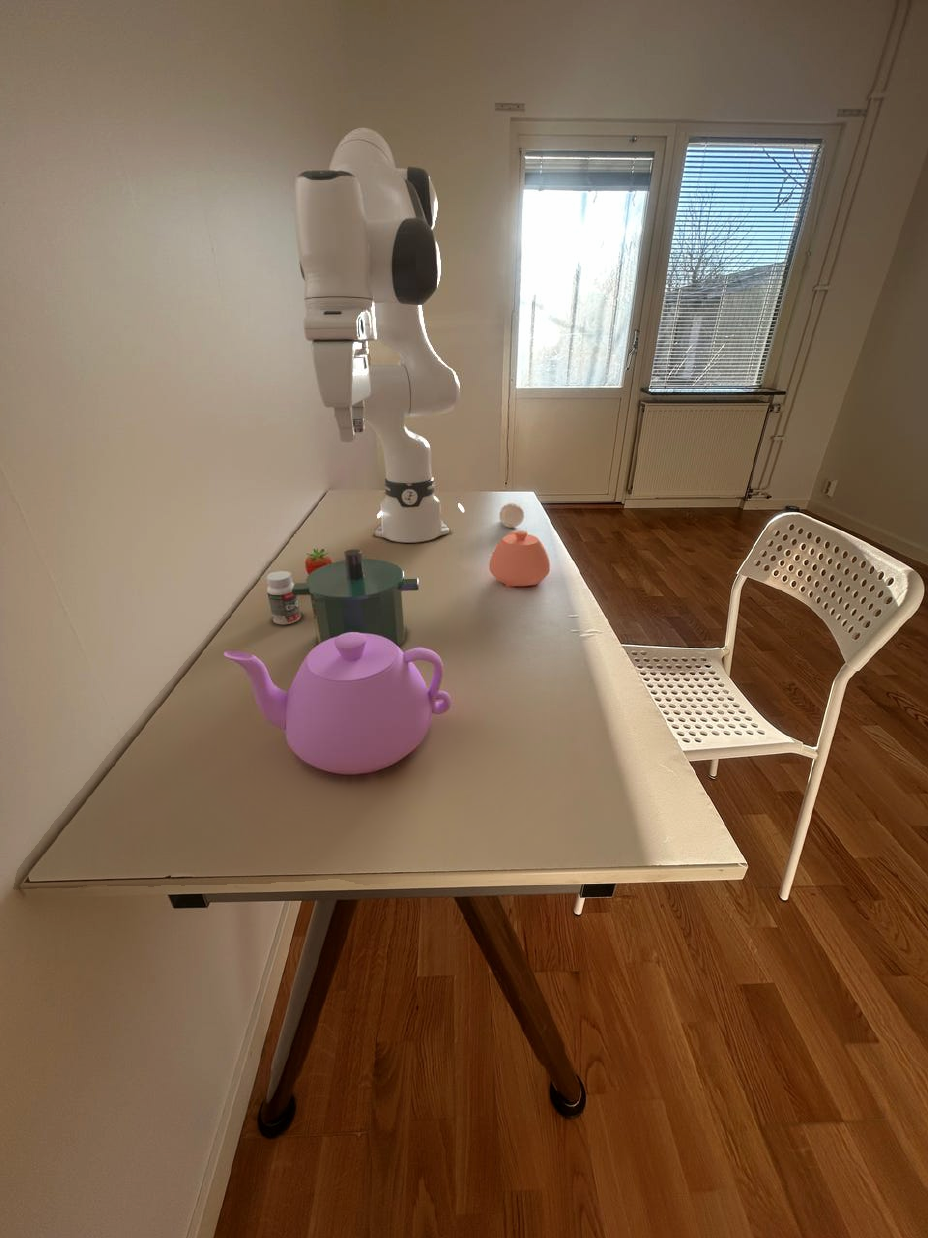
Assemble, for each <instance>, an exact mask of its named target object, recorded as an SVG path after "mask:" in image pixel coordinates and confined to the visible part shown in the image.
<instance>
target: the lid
mask: <svg viewBox="0 0 928 1238" xmlns="http://www.w3.org/2000/svg"><path fill="white" fill-rule="evenodd" d="M343 555H344V556H343V557H344V559H343V560H339V561H335V562H332V563H330V564H327V565H324V566H322V567H320V568H318V569H316V570H314V571H313V572H312V573H310V574H308V575H307V576H306V579H305V583H306V587H307V589H308V590H309V592H311V593H312V594H314V595H315V596H318V597H321V598H324V599H329V600H338V601H353V600H363V599H369V598H373V597H377V596H381V595H384V594H386V593H389V592H391V591H393V590H394V589H396V588H397V587H398V586H400V585H401V583H402V582H403V580H404V579H405V574H404V573H405V572H404V571H403V569H402V567H400V566H399V565H398V564H396V563H393V562H391V561H387V560H383V559H379V558H363V554H362V550H361V549H359V548H358V549H356V548H351V549H347V550H345V551H344V553H343Z"/></svg>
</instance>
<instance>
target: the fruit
mask: <svg viewBox="0 0 928 1238" xmlns="http://www.w3.org/2000/svg"><path fill="white" fill-rule="evenodd" d="M328 554H329V552H327V553H325V548H322V549H320V551H319V550H318V548H316V549H315V548H313V553H307V552H306V555H307V556H308V557H307V558H306V559H305V561H304V562H305V563H304V564H305V565H304V566H305V570H306V573H307V574H308V575H309V574H310V573H312V572H313V571H314V570H316V569H318V568H320V567H322V566H324V565H327V564H330V563H333V561H332V559H331V558H330V557H329V556H328Z"/></svg>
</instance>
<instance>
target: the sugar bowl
mask: <svg viewBox="0 0 928 1238" xmlns="http://www.w3.org/2000/svg"><path fill="white" fill-rule="evenodd" d="M488 566H489V567H488V569H489V571H490V573H491V575H492V576H493V578H495V580H497V581H498V582H500V583H502V584H504V585H505V587H509V588H512V587H527V586H537V585H538V584H539V583H541V582H542V581H543V580H544V579H545V578H547V576H548V575H549V574H550V571H551V563H550V558H549V554H548V553H547V550H546V549H545V547H544V545H543V543H542V541H541V540H540V539H539V537H537V536H535V535H533V534H528V531H527V530H522V529H519V530H515V531H514V530H513V531H510V532H509V533H508V534H507V535H505V536H503V537H502V538H501V539H500V541H499V542H498V544H497V545H496V547H495V548H494V549H493V552H492V553H491V557H490V560H489V565H488Z"/></svg>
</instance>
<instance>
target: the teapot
mask: <svg viewBox="0 0 928 1238" xmlns="http://www.w3.org/2000/svg"><path fill="white" fill-rule="evenodd" d="M223 655H224V657H226V658H227V659H229V660H231V661H233V662H234V663H236V664H237V665H239V666H240V667H241V668H242V669H243V670H244V671H245V672H246V674H247V676H248V678H249V680H250V683H251V686H252V690H253V693H254V699H255V702H256V705H257V707H258V710H259V712H260V714H261V715H262V716H263V718H264V719H265V720H266V721H267V722H268V723H269V724H271V725H272V726H274V727H276V728H278V729H279V730H282V731H284V733H285V739H286V742H287V745H288V747H290V749H291V750H292V752H293V753H294V754H295V755H296V756H297V757H298V758H299V759H300V760H302V761H303V762H304V763H306V764H308V765H310V766H312V767H315V768H316V769H319V770H322V771H325V772H328V773H333V774H337V775H346V776H347V775H349V776H350V775H351V776H354V775H355V776H356V775H363V774H369V773H374V772H377V771H380V770H383V769H386V768H388V767H391V766H393V765H394V764H397V763H398V762H399V761H401V760H402V759H404V758H405V757H407V756H408V755H409V754H410V753H411V752H413V751H414V750H415V749H416V748H417V747H418V746H419V745H420V743H422V741H423V740H424V739H425V737H426V736H427V734H428V731H429V729H430V727H431V724H432V720H433V714H434V715H442V714H444V713H446V712H448V711H449V710H450V708H451V705H452V697H451V695H450V694H449V693H448V692H447V691H444V690H440V688H441V684H442V681H443V676H444V663H443V660H442V658H441V657H440V655H439V654H438V653H437V652H435V651H434V650H432V649H430V648H427V647H414V648H410V649H408V650H405V651H404V652H403V650H402V649H401V648H400V646H399V647H398V646H396V645H395V644H394V643H393V642H392V641H390V640H389V639H387V638H384V637H382V636H379V635H374V634H366V633H358V632H349V633H345V634H342V635H340V636H337V637H334V638H331V639H329V640H326V641H324V642H322V643H321V644H319V643H318V645H316V646H315V647H314V648H312V649H311V650H310V651H309V652H308V654H307V655H306V657H305V658H304V659H303V661H302V663H301V665H300V666H299V668H298V670H297V673H296V674H295V677H294V678H293V680H292V682H291V684H290V687H289V690H288V691H285V690H283V689H281V688H279V687H278V686H277V685H276V684H275V683H274V681H273V680H272V678H271V676H270V674H269V671H268V669H267V667H266V666H265V664H264V662H263V661H262V660H261V659H260V658H258V657H257V656H255V655H254V654H252V653H248V652H244V651H240V650H239V651H238V650H227V651H224V652H223ZM415 661H426V662H429V663H431V664H432V665H433V675H432V679H431V681H430V685H429V688H428V686H427V684H426V682H425V680H424V678H423V676H422V674H421V673H420V671H419V670H418V668H417V667H416V665H415V664H414V663H413V662H415ZM439 700H442V701H439ZM437 701H439V702H437Z"/></svg>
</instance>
